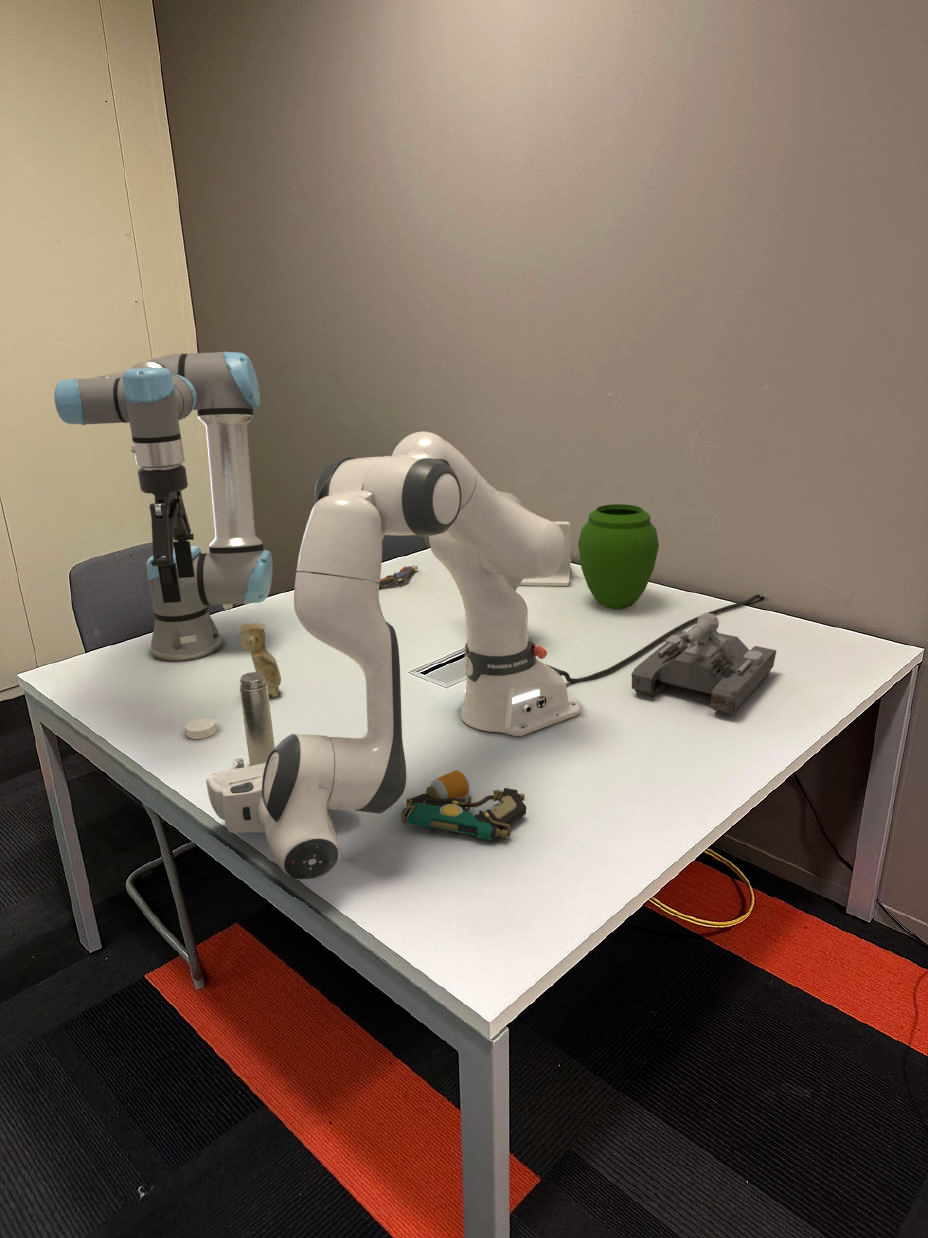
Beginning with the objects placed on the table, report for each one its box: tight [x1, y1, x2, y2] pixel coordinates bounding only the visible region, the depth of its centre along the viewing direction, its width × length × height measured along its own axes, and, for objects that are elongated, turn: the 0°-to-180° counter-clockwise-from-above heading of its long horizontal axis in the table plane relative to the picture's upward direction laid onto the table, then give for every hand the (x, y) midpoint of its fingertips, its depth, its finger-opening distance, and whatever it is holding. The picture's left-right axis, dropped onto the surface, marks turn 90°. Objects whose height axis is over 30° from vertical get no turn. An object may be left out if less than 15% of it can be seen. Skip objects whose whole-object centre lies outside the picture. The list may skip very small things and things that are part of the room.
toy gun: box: [368, 565, 419, 587], centre depth 238 cm, size 3×19×10 cm
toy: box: [630, 612, 777, 715], centre depth 167 cm, size 25×20×15 cm
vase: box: [577, 503, 660, 610], centre depth 210 cm, size 20×20×24 cm
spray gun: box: [401, 769, 527, 841], centre depth 128 cm, size 4×17×15 cm
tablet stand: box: [519, 521, 572, 587], centre depth 236 cm, size 18×25×17 cm
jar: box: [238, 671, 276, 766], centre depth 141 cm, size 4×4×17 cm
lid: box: [184, 717, 217, 740], centre depth 156 cm, size 5×5×2 cm
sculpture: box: [238, 622, 282, 698], centre depth 168 cm, size 6×7×15 cm
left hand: (180, 589), depth 147 cm, fingers open, 13 cm apart
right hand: (268, 756), depth 134 cm, fingers open, 8 cm apart
